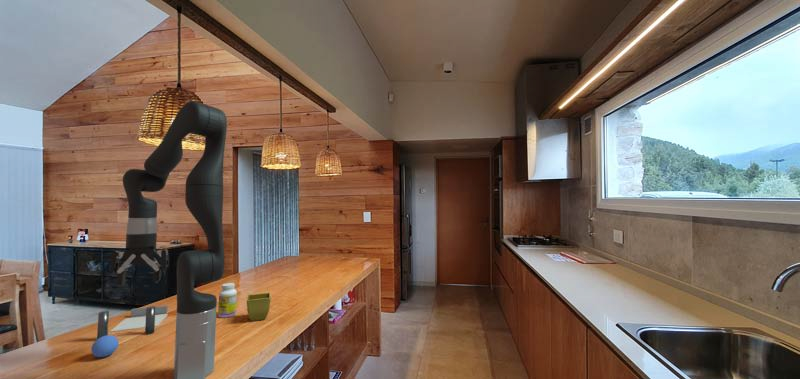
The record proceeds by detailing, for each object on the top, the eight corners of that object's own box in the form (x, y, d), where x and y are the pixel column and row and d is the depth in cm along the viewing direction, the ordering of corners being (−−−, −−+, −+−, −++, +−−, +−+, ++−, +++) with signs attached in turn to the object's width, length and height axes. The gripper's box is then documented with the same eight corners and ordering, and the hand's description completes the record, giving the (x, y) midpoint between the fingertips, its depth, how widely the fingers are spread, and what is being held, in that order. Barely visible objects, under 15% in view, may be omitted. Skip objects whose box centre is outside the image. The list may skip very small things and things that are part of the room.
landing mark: (157, 326, 118) (157, 325, 118) (110, 331, 112) (110, 331, 112) (168, 314, 130) (168, 313, 130) (126, 318, 125) (126, 318, 125)
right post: (152, 333, 110) (154, 308, 111) (143, 335, 109) (145, 309, 110) (155, 331, 113) (156, 306, 113) (146, 332, 112) (147, 306, 112)
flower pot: (246, 316, 128) (247, 294, 129) (269, 313, 132) (270, 292, 132) (245, 324, 120) (246, 300, 121) (270, 320, 124) (270, 297, 124)
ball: (112, 358, 92) (114, 338, 93) (86, 362, 90) (87, 341, 90) (121, 350, 98) (122, 330, 98) (96, 353, 95) (97, 333, 96)
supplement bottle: (214, 316, 128) (215, 285, 129) (229, 311, 134) (230, 281, 135) (224, 319, 125) (225, 287, 126) (239, 314, 131) (240, 283, 132)
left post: (105, 339, 105) (106, 312, 106) (95, 341, 104) (97, 313, 105) (108, 337, 108) (110, 310, 108) (99, 338, 107) (100, 311, 107)
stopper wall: (166, 313, 131) (166, 306, 132) (130, 317, 127) (131, 309, 127) (167, 312, 133) (167, 305, 133) (132, 316, 128) (132, 308, 128)
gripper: (107, 233, 93) (104, 288, 92) (165, 232, 98) (162, 284, 97) (119, 231, 99) (116, 283, 98) (172, 230, 105) (170, 279, 104)
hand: (139, 283), depth 98 cm, fingers open, 8 cm apart
